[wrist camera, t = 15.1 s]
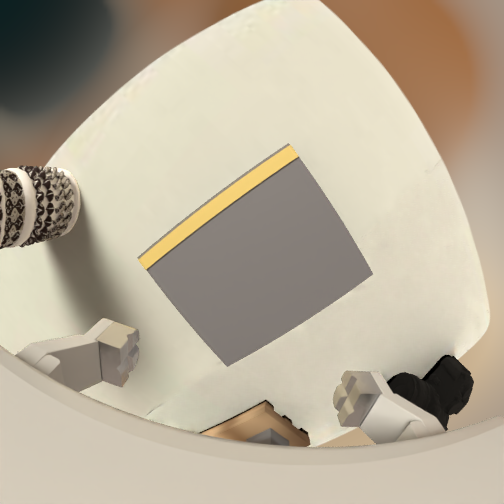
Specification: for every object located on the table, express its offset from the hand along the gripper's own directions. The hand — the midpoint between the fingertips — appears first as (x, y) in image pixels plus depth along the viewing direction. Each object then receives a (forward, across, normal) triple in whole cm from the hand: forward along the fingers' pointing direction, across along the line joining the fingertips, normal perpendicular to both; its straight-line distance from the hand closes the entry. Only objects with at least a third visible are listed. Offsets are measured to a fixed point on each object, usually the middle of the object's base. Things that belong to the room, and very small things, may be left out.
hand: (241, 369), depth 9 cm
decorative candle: (+18, +24, -1) cm, 31 cm away
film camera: (+17, -26, +13) cm, 34 cm away
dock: (+18, -1, 0) cm, 18 cm away
